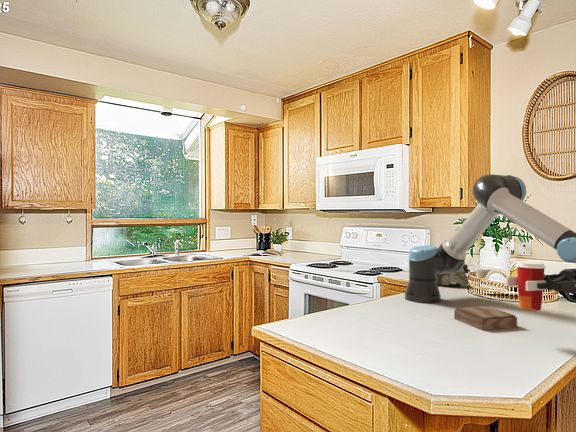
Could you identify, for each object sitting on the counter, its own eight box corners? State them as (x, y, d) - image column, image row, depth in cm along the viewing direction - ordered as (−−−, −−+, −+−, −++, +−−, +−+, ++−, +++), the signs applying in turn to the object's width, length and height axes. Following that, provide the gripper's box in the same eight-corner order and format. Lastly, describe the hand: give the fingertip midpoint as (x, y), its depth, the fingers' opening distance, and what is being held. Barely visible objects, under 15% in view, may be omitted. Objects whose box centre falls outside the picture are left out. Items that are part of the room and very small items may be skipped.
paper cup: (542, 306, 122) (543, 261, 121) (547, 312, 115) (547, 264, 114) (513, 304, 125) (514, 260, 125) (516, 309, 118) (516, 262, 118)
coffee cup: (492, 291, 194) (492, 267, 194) (500, 295, 184) (500, 270, 184) (472, 291, 195) (472, 266, 194) (479, 295, 185) (479, 269, 185)
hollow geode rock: (414, 292, 215) (413, 274, 205) (415, 273, 223) (413, 256, 214) (471, 294, 205) (472, 276, 195) (470, 274, 213) (471, 256, 204)
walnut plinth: (482, 330, 131) (482, 318, 131) (454, 318, 145) (454, 307, 145) (516, 327, 135) (517, 315, 134) (486, 316, 148) (486, 305, 148)
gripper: (609, 299, 115) (544, 303, 109) (549, 286, 134) (491, 289, 128) (609, 273, 114) (545, 276, 109) (549, 264, 133) (492, 266, 128)
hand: (516, 283), depth 118 cm, fingers closed on paper cup, 7 cm apart
